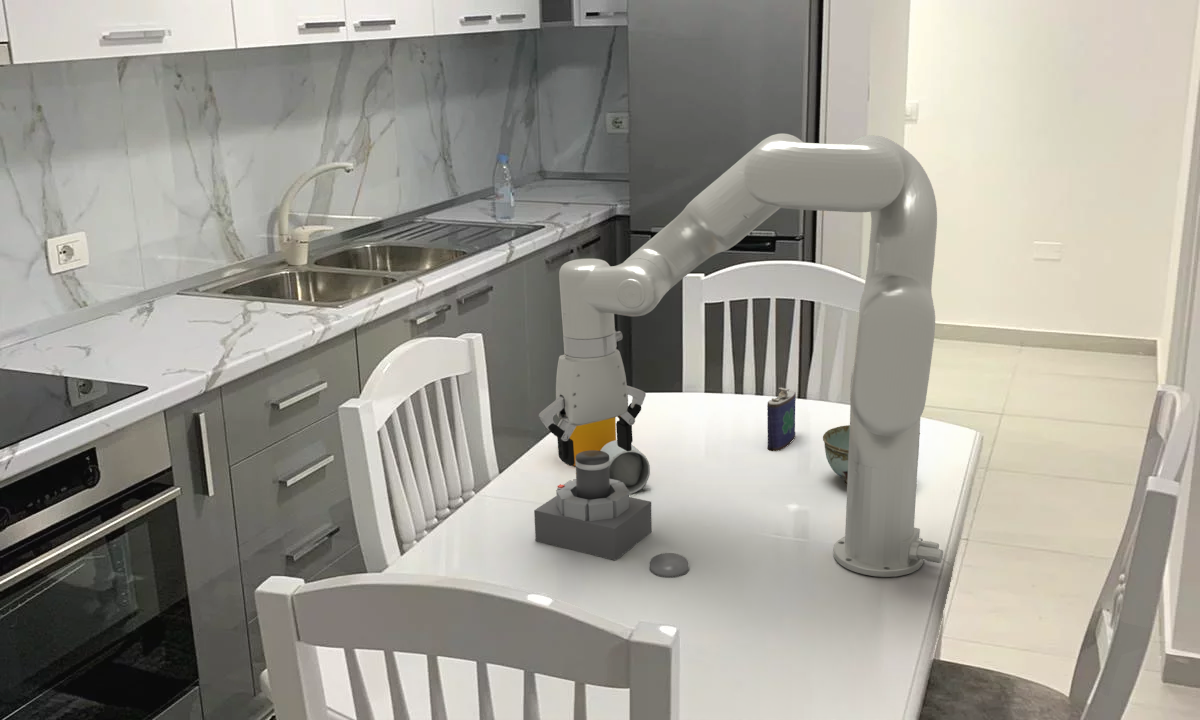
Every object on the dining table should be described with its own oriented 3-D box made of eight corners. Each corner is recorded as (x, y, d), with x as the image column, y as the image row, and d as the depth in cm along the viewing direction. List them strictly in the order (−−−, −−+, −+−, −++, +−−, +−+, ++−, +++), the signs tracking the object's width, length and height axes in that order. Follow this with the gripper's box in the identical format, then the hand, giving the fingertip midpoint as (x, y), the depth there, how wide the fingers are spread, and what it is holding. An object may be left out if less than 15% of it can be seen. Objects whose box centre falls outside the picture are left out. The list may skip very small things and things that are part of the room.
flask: (784, 434, 215) (786, 379, 212) (799, 437, 214) (801, 382, 211) (764, 450, 208) (765, 394, 205) (779, 453, 207) (780, 396, 203)
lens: (599, 496, 177) (599, 447, 175) (616, 508, 173) (615, 458, 170) (570, 503, 175) (569, 454, 172) (586, 515, 170) (585, 465, 168)
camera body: (651, 531, 176) (651, 485, 174) (615, 560, 167) (614, 511, 165) (574, 514, 183) (572, 469, 181) (535, 540, 174) (533, 493, 172)
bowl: (853, 504, 184) (855, 458, 182) (805, 476, 196) (806, 432, 194) (921, 489, 189) (924, 443, 187) (871, 462, 201) (873, 419, 199)
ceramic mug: (636, 473, 199) (634, 432, 196) (651, 491, 191) (649, 448, 189) (576, 482, 196) (574, 440, 194) (590, 501, 188) (588, 457, 186)
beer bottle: (599, 472, 200) (595, 310, 191) (555, 463, 204) (549, 304, 196) (626, 455, 207) (623, 298, 199) (582, 446, 212) (578, 293, 204)
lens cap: (641, 570, 164) (641, 565, 164) (664, 554, 168) (664, 549, 168) (673, 583, 161) (673, 578, 160) (696, 566, 165) (696, 561, 164)
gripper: (628, 329, 174) (633, 436, 178) (524, 350, 166) (533, 461, 170) (654, 339, 167) (659, 450, 172) (547, 361, 159) (556, 476, 164)
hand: (596, 455), depth 171 cm, fingers open, 9 cm apart
